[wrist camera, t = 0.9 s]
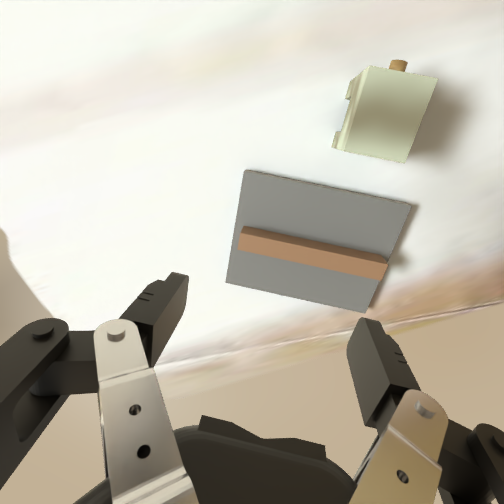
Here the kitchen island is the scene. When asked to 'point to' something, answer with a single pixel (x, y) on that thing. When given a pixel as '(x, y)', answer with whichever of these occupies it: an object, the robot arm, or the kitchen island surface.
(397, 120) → the sage block
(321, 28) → the kitchen island surface
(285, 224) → the cleat board
